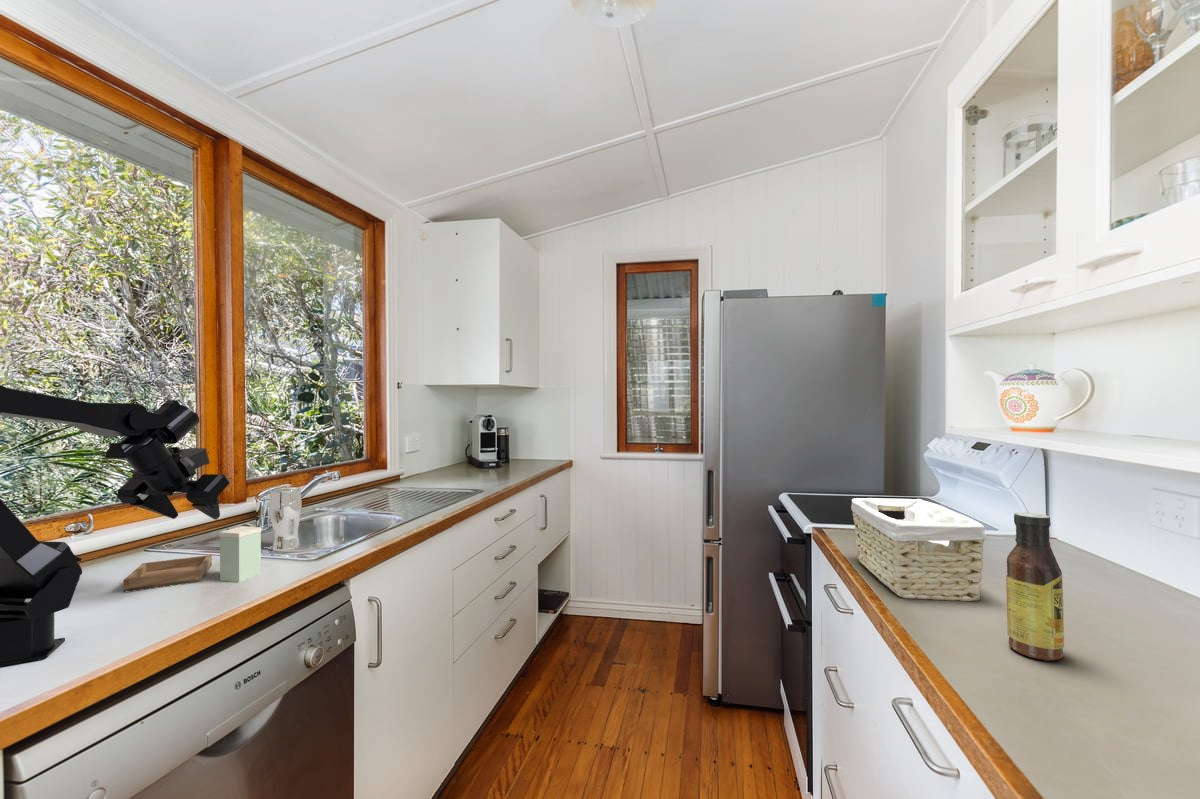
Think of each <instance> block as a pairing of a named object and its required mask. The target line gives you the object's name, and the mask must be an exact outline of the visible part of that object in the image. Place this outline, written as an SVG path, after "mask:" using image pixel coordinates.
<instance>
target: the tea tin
mask: <svg viewBox="0 0 1200 799" xmlns="http://www.w3.org/2000/svg"><path fill="white" fill-rule="evenodd" d="M261 534H262V527H260V526H258V527H257V526H243V525H241V526H238V527H234V528H231V529H226V530H223V531H219V532H218V536H219V574H220V575H219V576H220V577H219V581H220V582H221V581H222V582H231V583H241V581H242V582H244V581H247V580H250V579H252V578H254V576H255V577H258V576H260V575H261V574H262V565H261V564H262V561H261V560H262V552H261V551H262V549H261V548H262V544H261V543H262V542H261V540H262V535H261ZM257 575H258V576H257ZM251 577H252V578H251ZM249 578H250V579H249ZM246 579H247V580H246Z"/></svg>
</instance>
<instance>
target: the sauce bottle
mask: <svg viewBox="0 0 1200 799" xmlns="http://www.w3.org/2000/svg"><path fill="white" fill-rule="evenodd" d="M1013 519H1014V520H1013V523H1014V525H1015V535H1016V537H1015V539H1014V540H1015V542H1016V544H1015V546H1014V547H1013V548H1012V549H1011V551H1010V552H1009V553H1008V555H1007V557H1006V576H1005V579H1006V580H1005V582H1006V619H1007V620H1006V622H1007V623H1006V624H1007V626H1006V627H1007V636H1008V637H1009V638H1008V643H1009V647H1010V648H1011V649H1012V650H1014V651H1016V652H1017V653H1018V654H1021V655H1023V656H1026V657H1029V658H1033V659H1039V660H1043V661H1058V660H1061V659H1062V658H1063V656H1064V650H1063V648H1064V647H1065V629H1064V628H1065V627H1064V592H1063V591H1064V590H1063V588H1064V587H1063V571H1062V570H1061V568H1060V565H1059V563H1058V561H1057V559H1056V556H1055V554H1054V552H1053V549H1052V548H1051V543H1050V527H1051V526H1052V525H1051V516H1049V515H1046V514H1041V513H1036V512H1015V513H1014V515H1013Z"/></svg>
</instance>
